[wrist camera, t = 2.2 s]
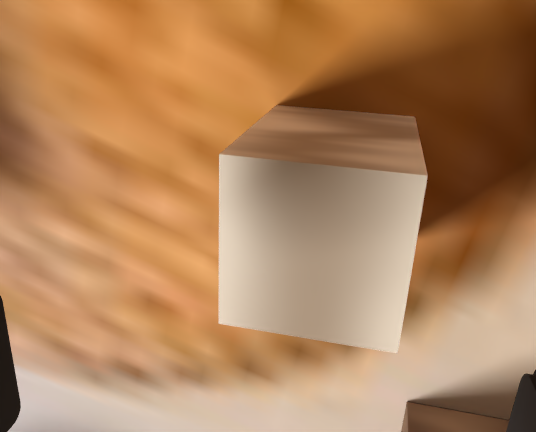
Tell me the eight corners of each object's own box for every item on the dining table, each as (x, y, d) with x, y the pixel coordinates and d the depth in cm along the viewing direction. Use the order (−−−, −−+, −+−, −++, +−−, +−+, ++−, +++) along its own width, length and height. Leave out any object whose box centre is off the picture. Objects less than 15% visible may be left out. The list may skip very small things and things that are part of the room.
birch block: (414, 116, 18) (427, 175, 12) (395, 243, 20) (397, 353, 14) (276, 104, 19) (219, 154, 13) (270, 227, 21) (218, 323, 15)
